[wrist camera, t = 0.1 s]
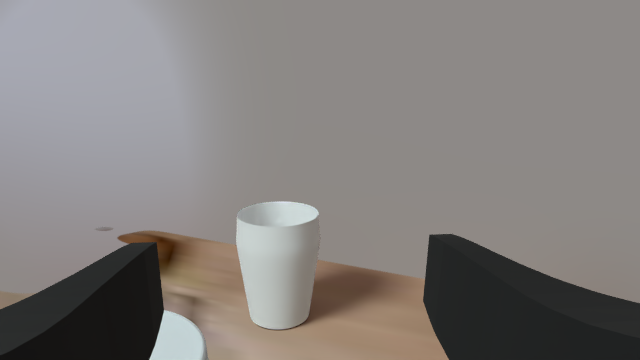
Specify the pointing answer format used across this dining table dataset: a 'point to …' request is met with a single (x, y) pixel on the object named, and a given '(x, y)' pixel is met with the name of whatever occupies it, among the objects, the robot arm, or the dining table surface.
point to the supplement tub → (179, 340)
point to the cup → (278, 261)
